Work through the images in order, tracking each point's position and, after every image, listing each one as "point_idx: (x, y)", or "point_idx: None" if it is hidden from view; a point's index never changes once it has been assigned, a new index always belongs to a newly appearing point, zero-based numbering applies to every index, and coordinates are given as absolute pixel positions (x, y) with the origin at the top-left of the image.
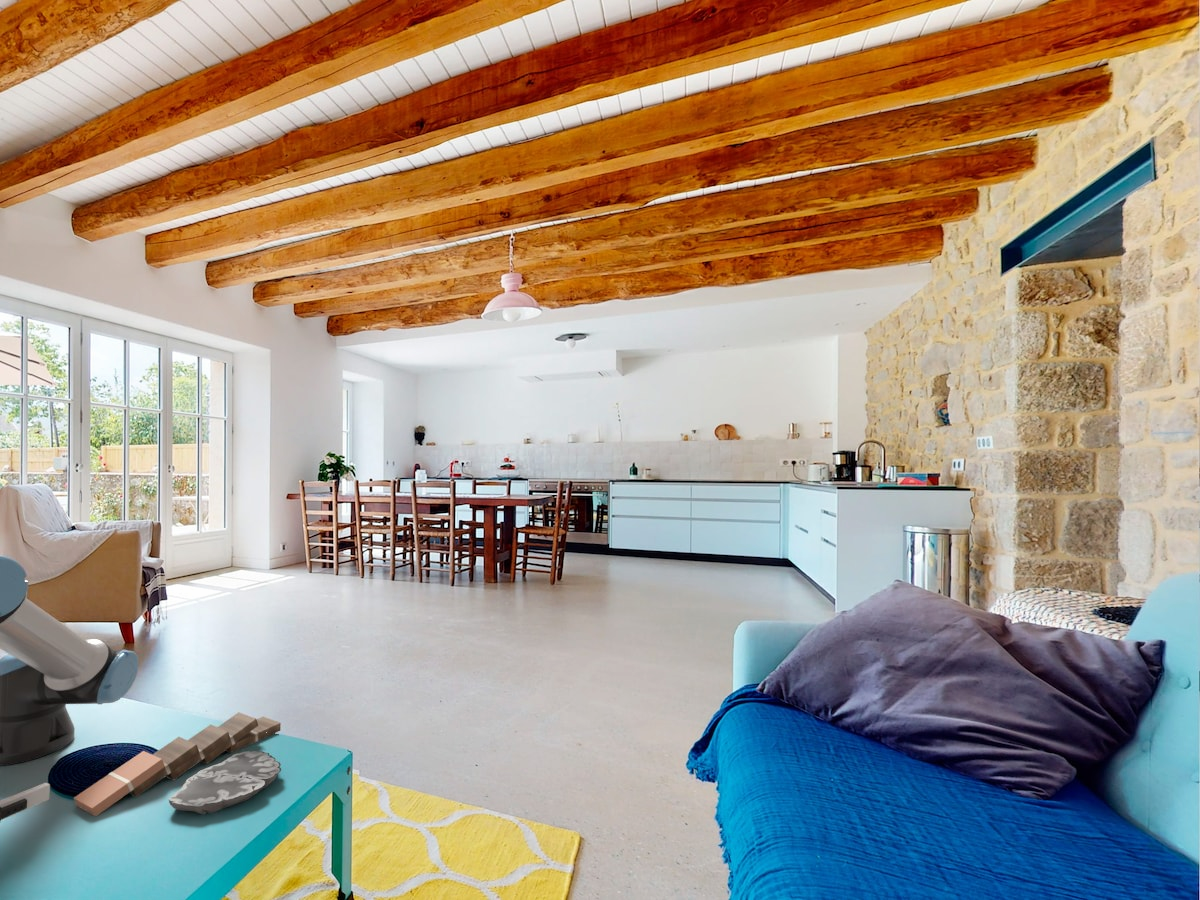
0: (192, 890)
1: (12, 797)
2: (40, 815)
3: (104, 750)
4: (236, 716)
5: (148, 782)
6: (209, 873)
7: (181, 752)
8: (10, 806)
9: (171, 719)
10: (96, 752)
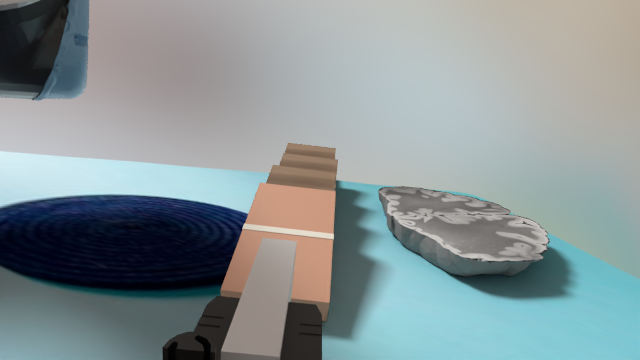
0: None
1: (256, 306)
2: (151, 355)
3: (66, 207)
4: (294, 147)
5: None
6: None
7: (326, 185)
8: (311, 349)
9: (122, 166)
10: (51, 211)
